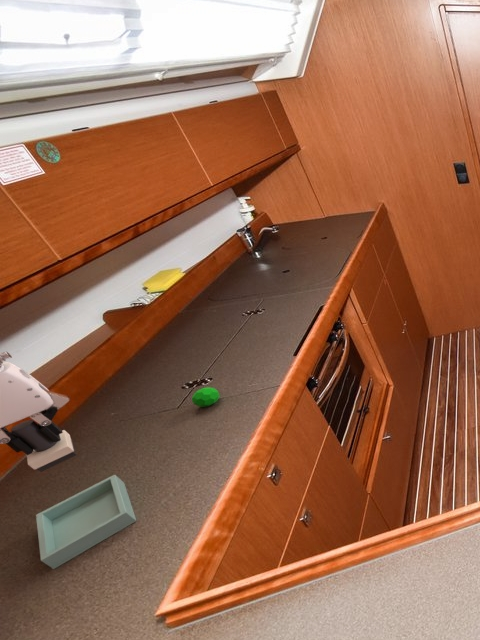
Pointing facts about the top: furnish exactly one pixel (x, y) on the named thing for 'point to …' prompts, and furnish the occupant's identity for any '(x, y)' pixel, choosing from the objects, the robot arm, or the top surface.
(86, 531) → the tray
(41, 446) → the brush
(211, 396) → the polyhedron
